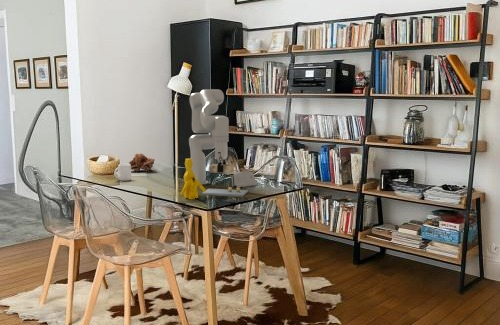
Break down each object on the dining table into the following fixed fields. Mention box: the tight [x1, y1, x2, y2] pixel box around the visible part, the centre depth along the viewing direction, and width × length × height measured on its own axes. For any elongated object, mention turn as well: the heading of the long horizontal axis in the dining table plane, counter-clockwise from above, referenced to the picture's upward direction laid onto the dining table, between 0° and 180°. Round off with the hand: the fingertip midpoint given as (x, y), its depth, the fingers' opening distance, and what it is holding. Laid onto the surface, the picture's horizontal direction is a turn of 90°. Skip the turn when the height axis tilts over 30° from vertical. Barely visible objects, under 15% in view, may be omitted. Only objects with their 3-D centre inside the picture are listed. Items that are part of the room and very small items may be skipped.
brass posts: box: [227, 186, 241, 192], centre depth 302 cm, size 7×2×2 cm, turn 77°
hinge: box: [231, 170, 258, 188], centre depth 331 cm, size 17×5×10 cm, turn 127°
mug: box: [113, 163, 132, 182], centre depth 350 cm, size 12×8×10 cm
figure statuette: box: [179, 158, 207, 200], centre depth 289 cm, size 18×8×22 cm, turn 133°
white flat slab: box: [201, 188, 249, 197], centre depth 303 cm, size 24×13×1 cm, turn 77°
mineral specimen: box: [128, 153, 156, 172], centre depth 391 cm, size 22×20×15 cm
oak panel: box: [209, 163, 235, 174], centre depth 289 cm, size 12×6×4 cm, turn 77°
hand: (221, 171), depth 289 cm, fingers closed on oak panel, 6 cm apart
